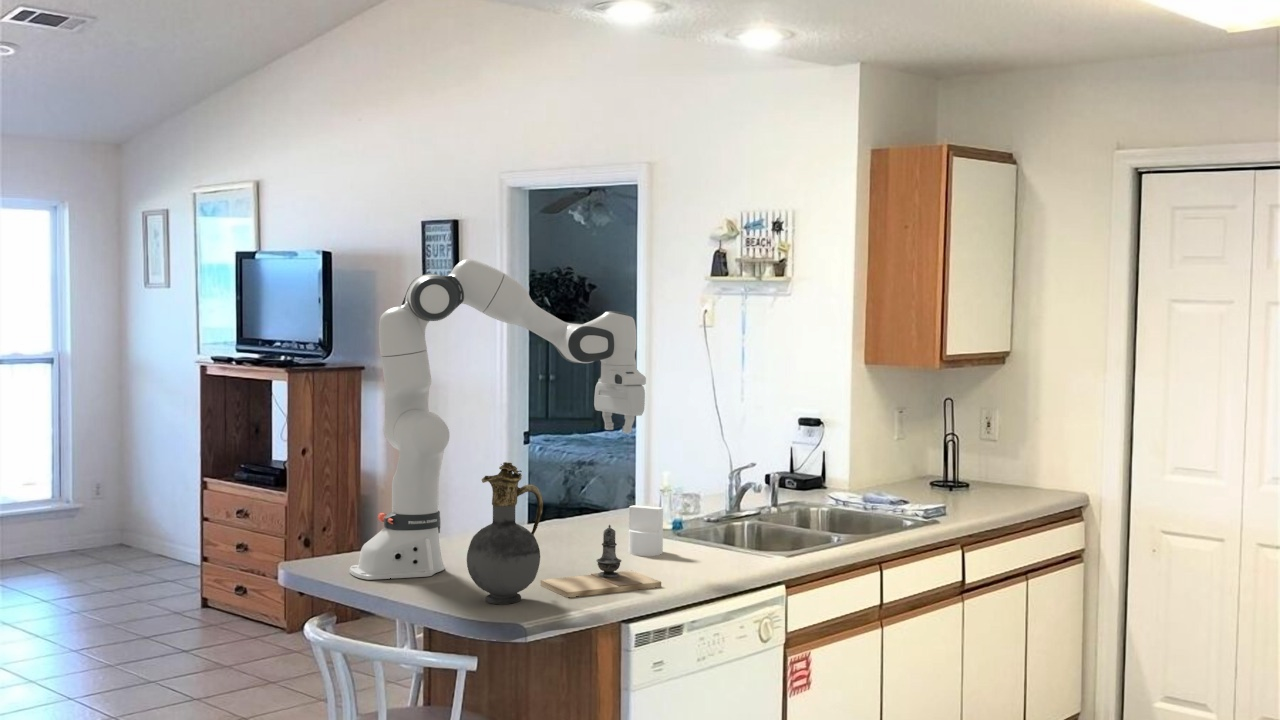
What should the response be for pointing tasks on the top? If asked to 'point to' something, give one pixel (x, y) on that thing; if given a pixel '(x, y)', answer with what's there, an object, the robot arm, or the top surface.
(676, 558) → the top surface
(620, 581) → the plywood board
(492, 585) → the pitcher
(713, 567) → the top surface
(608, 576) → the salt shaker
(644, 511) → the white canister
